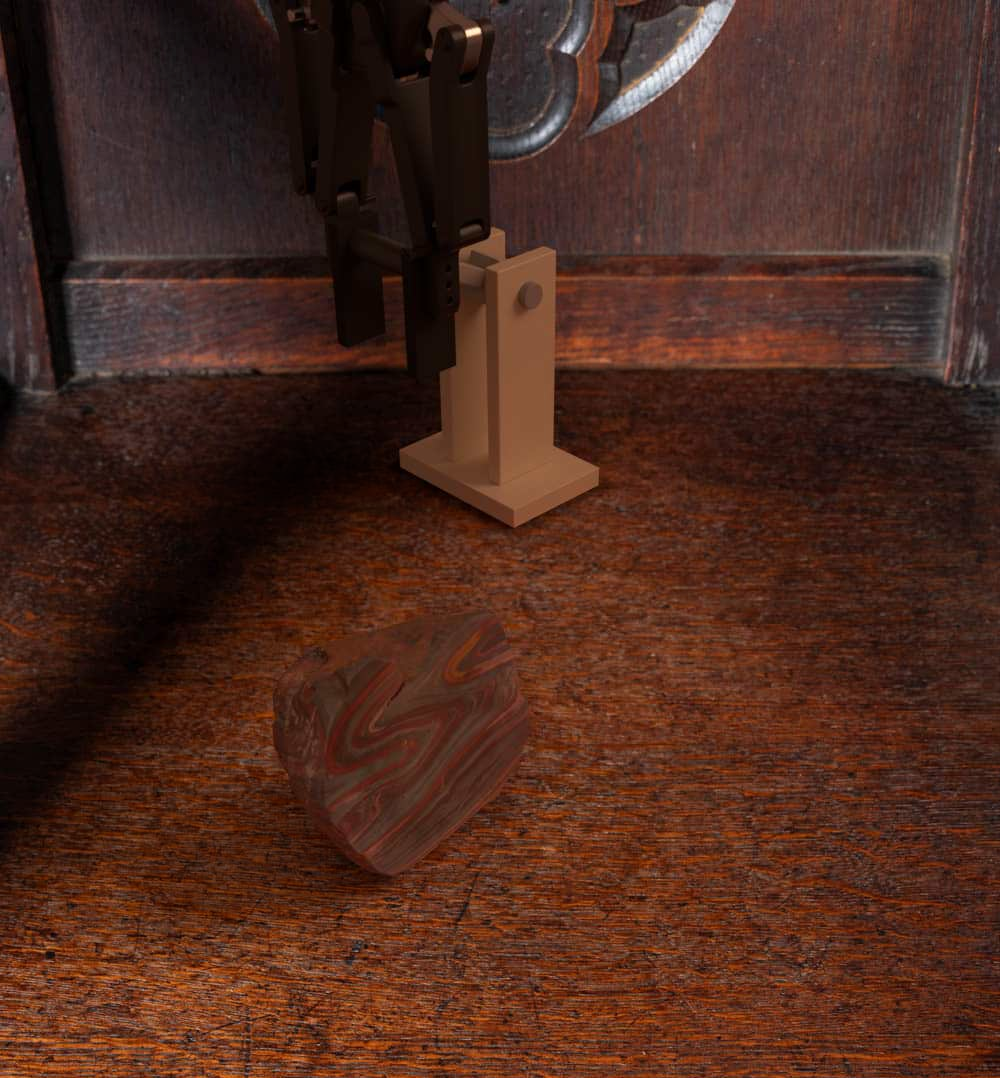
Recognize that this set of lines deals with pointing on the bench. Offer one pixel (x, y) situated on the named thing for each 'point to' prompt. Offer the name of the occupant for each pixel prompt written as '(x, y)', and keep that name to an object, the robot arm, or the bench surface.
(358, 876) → the bench surface
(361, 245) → the lever
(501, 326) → the bracket
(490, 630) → the stone
